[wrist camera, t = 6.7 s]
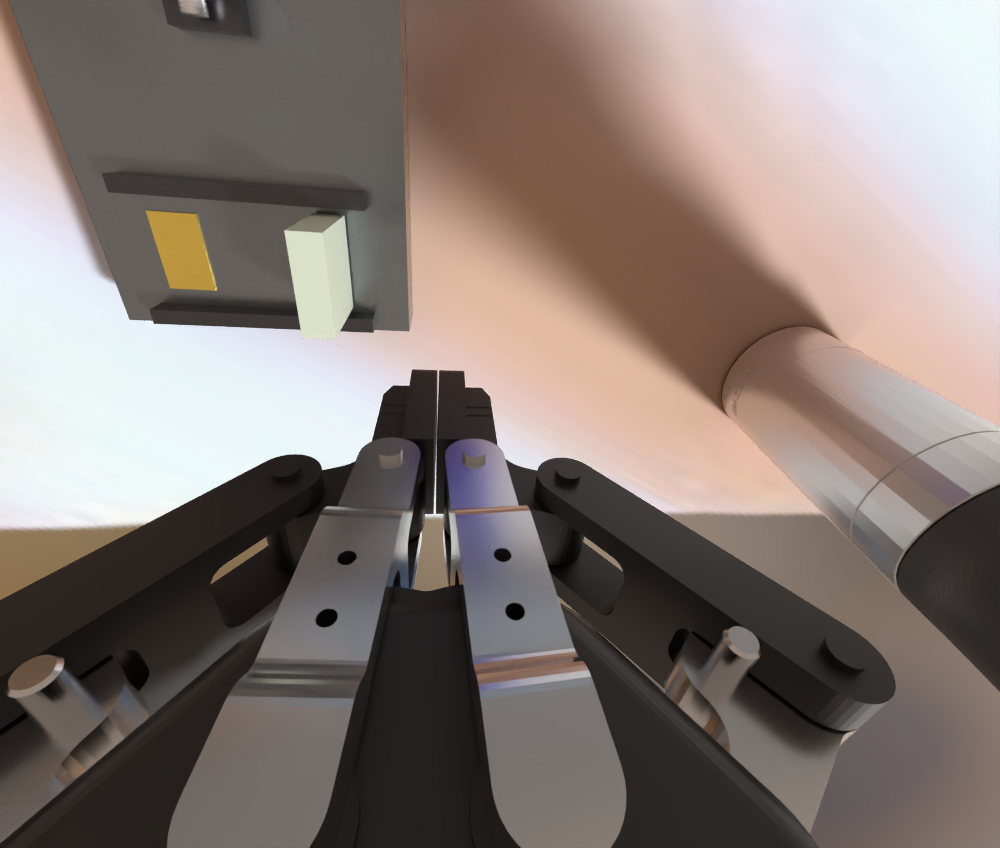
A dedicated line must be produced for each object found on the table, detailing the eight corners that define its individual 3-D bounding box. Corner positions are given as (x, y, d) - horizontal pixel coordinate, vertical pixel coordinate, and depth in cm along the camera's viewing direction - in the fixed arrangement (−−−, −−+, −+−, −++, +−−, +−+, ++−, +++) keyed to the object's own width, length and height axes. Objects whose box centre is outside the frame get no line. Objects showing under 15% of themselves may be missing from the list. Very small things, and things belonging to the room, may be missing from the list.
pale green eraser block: (344, 215, 24) (322, 232, 20) (353, 306, 27) (335, 339, 22) (313, 213, 24) (284, 230, 19) (325, 305, 26) (302, 338, 22)
